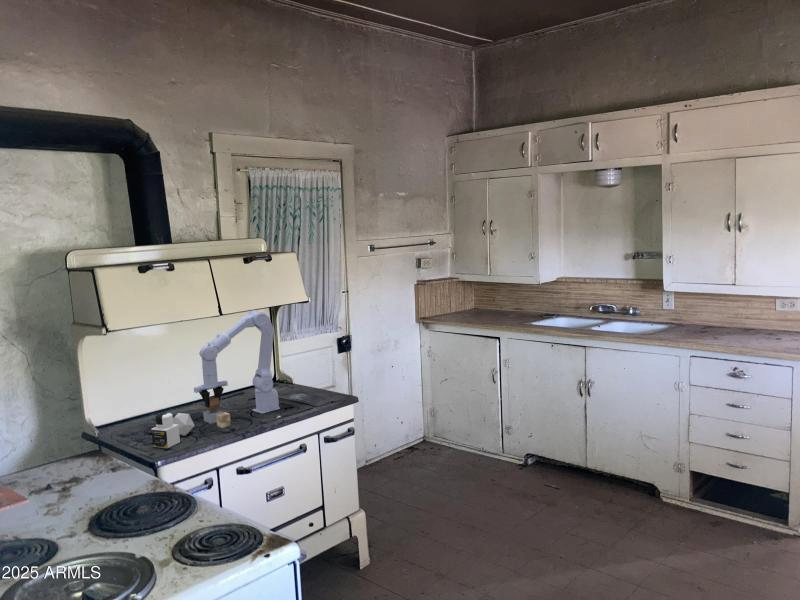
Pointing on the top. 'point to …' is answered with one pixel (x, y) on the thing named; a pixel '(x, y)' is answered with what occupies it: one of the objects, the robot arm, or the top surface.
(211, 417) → the base block
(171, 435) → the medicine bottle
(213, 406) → the walnut block
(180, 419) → the die
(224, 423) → the maple block
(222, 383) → the robot arm
